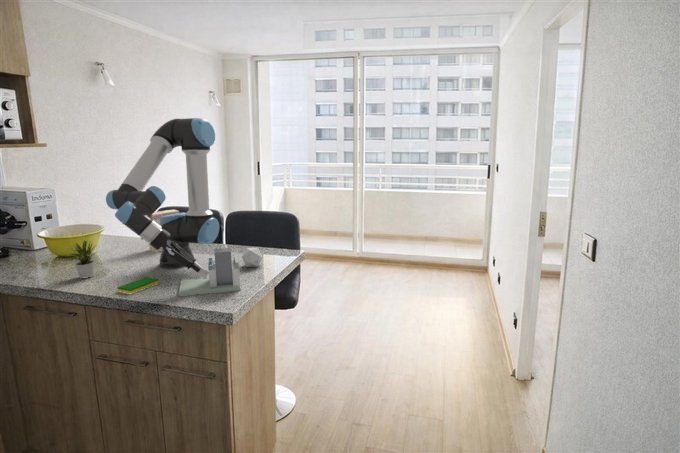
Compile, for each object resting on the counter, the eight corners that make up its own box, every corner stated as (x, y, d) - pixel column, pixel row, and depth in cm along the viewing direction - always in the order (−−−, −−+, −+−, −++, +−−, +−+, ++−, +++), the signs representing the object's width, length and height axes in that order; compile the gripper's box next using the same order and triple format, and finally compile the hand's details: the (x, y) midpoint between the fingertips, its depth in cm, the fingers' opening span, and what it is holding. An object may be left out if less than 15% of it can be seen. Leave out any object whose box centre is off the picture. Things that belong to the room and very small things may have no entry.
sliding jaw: (210, 277, 177) (208, 257, 176) (216, 277, 178) (215, 257, 176) (209, 288, 165) (208, 267, 164) (216, 287, 166) (215, 266, 164)
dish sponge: (159, 284, 177) (159, 278, 177) (130, 295, 165) (130, 289, 164) (146, 282, 180) (146, 276, 179) (117, 293, 168) (116, 287, 167)
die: (252, 271, 193) (265, 251, 194) (235, 261, 194) (247, 241, 195) (256, 272, 201) (268, 253, 203) (239, 262, 202) (251, 243, 203)
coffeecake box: (177, 244, 238) (174, 209, 234) (182, 247, 233) (179, 210, 229) (148, 249, 229) (145, 212, 225) (154, 252, 223) (150, 214, 219)
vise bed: (181, 284, 176) (179, 257, 173) (238, 278, 181) (236, 253, 179) (179, 296, 162) (176, 267, 160) (240, 290, 168) (238, 262, 166)
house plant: (69, 273, 191) (64, 236, 187) (105, 269, 196) (100, 233, 193) (63, 283, 178) (58, 244, 174) (102, 278, 183) (97, 240, 180)
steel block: (216, 280, 174) (214, 248, 172) (232, 279, 176) (230, 247, 173) (216, 285, 169) (214, 252, 166) (233, 284, 170) (230, 251, 168)
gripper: (151, 239, 169) (200, 277, 176) (146, 247, 156) (198, 288, 164) (165, 224, 169) (213, 263, 176) (160, 231, 157) (212, 273, 164)
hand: (206, 275), depth 170 cm, fingers closed
